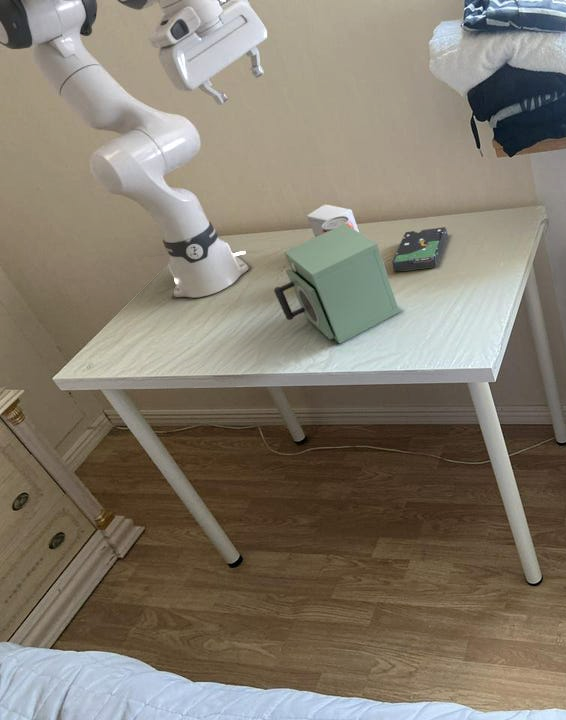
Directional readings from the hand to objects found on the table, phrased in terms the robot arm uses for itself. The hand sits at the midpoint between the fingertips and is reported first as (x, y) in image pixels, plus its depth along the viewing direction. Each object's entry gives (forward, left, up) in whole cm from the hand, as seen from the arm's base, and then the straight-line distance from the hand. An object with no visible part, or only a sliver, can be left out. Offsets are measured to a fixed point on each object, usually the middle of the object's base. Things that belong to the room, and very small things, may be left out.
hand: (241, 88), depth 127 cm
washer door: (+13, -6, -45) cm, 47 cm away
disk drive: (-3, +25, -46) cm, 53 cm away
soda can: (-7, +9, -46) cm, 48 cm away
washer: (+11, +4, -46) cm, 48 cm away
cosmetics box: (-21, +10, -46) cm, 52 cm away
